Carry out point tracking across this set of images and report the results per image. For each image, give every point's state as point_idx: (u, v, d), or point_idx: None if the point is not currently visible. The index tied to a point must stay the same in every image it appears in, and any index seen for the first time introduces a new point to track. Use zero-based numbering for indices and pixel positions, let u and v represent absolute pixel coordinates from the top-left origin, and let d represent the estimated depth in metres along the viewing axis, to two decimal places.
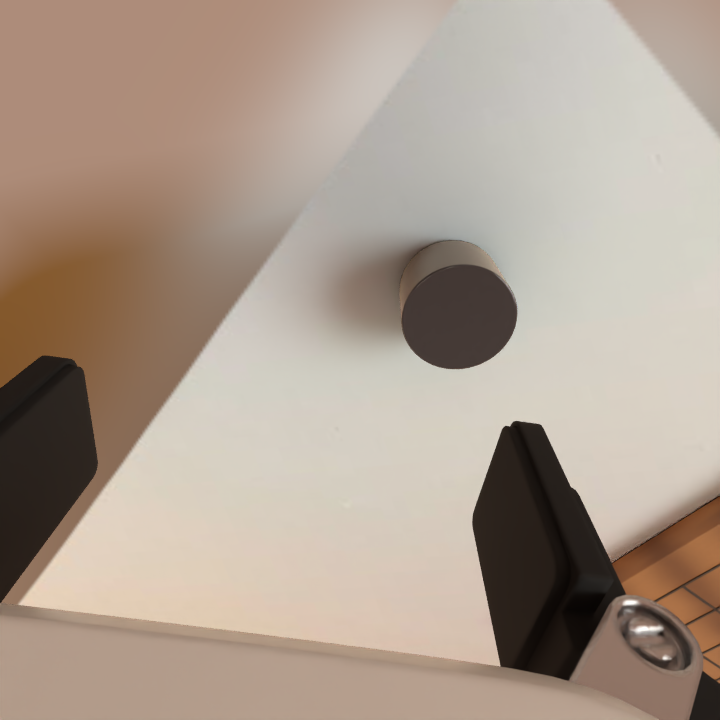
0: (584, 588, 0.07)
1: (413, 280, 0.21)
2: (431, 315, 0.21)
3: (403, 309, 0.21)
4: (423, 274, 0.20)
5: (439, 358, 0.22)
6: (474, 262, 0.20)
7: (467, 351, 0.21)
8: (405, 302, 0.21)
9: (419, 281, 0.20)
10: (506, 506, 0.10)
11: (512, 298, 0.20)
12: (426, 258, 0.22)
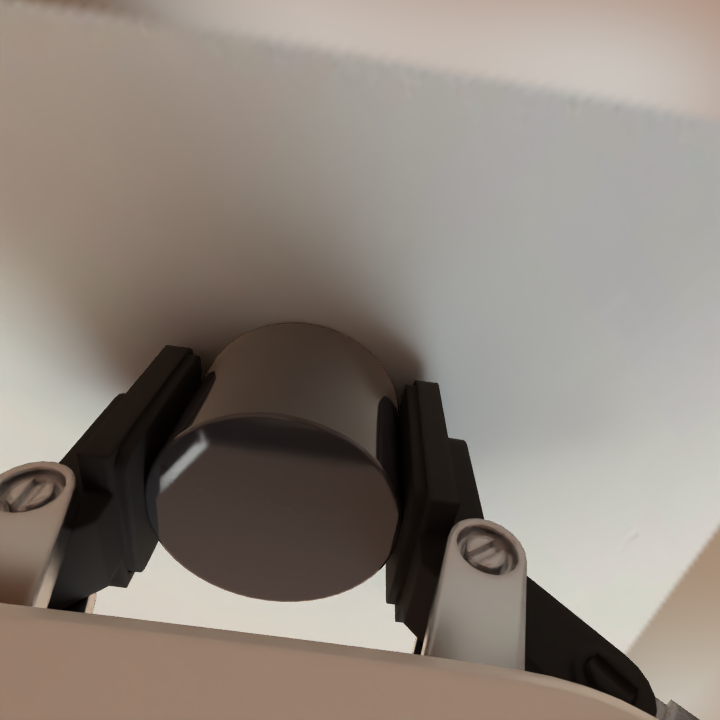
0: (435, 512, 0.08)
1: (285, 388, 0.09)
2: (243, 474, 0.09)
3: (213, 419, 0.08)
4: (312, 404, 0.09)
5: (173, 529, 0.09)
6: (396, 477, 0.09)
7: (225, 562, 0.10)
8: (231, 414, 0.08)
9: (294, 416, 0.08)
10: (400, 455, 0.11)
11: (374, 570, 0.10)
12: (335, 367, 0.10)
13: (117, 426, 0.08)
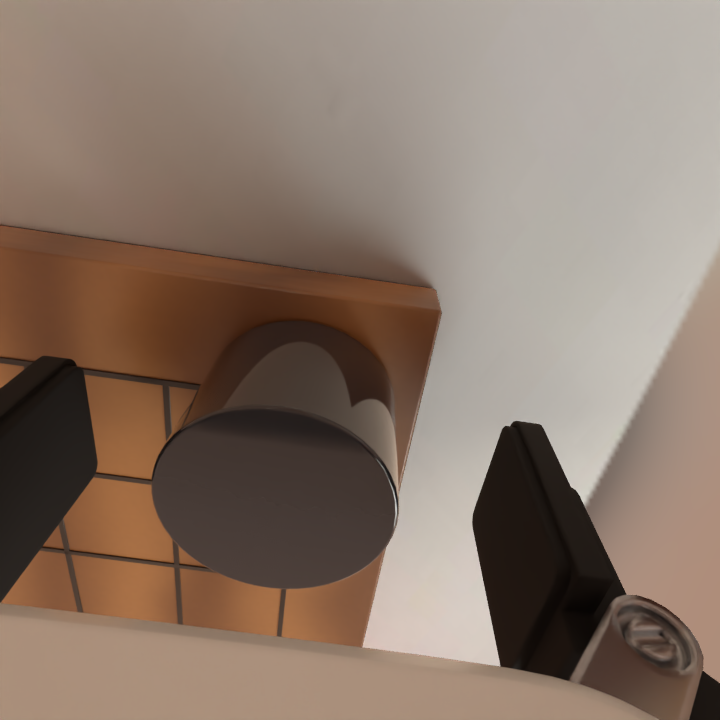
0: (584, 588, 0.07)
1: (286, 382, 0.09)
2: (246, 464, 0.09)
3: (218, 411, 0.09)
4: (313, 397, 0.09)
5: (178, 518, 0.10)
6: (393, 468, 0.09)
7: (229, 550, 0.10)
8: (235, 406, 0.09)
9: (295, 407, 0.08)
10: (506, 506, 0.10)
11: (372, 558, 0.10)
12: (335, 362, 0.10)
13: None
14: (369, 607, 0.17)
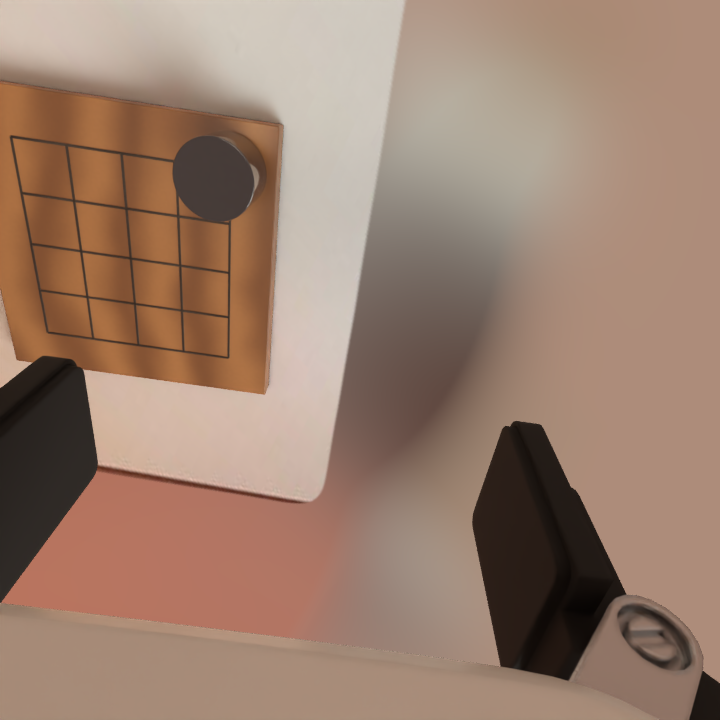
0: (584, 588, 0.07)
1: (216, 134, 0.28)
2: (203, 160, 0.28)
3: (193, 138, 0.28)
4: (224, 137, 0.28)
5: (181, 186, 0.29)
6: (252, 165, 0.29)
7: (198, 201, 0.29)
8: (198, 136, 0.28)
9: (217, 136, 0.28)
10: (506, 506, 0.10)
11: (248, 203, 0.29)
12: (235, 137, 0.30)
13: None
14: (269, 290, 0.36)
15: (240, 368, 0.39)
